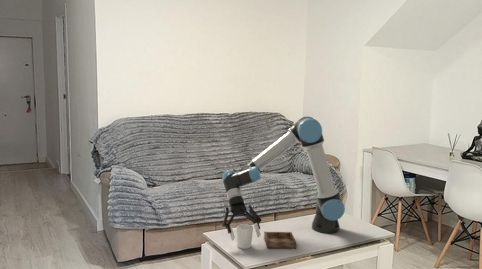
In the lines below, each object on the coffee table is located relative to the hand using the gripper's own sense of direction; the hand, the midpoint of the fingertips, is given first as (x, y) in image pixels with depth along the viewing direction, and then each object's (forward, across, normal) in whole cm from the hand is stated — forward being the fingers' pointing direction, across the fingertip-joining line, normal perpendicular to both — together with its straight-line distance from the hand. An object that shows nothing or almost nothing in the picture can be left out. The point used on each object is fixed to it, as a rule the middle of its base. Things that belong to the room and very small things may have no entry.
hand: (246, 237), depth 210 cm
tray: (+4, -18, -4) cm, 19 cm away
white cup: (+2, 0, -6) cm, 6 cm away
